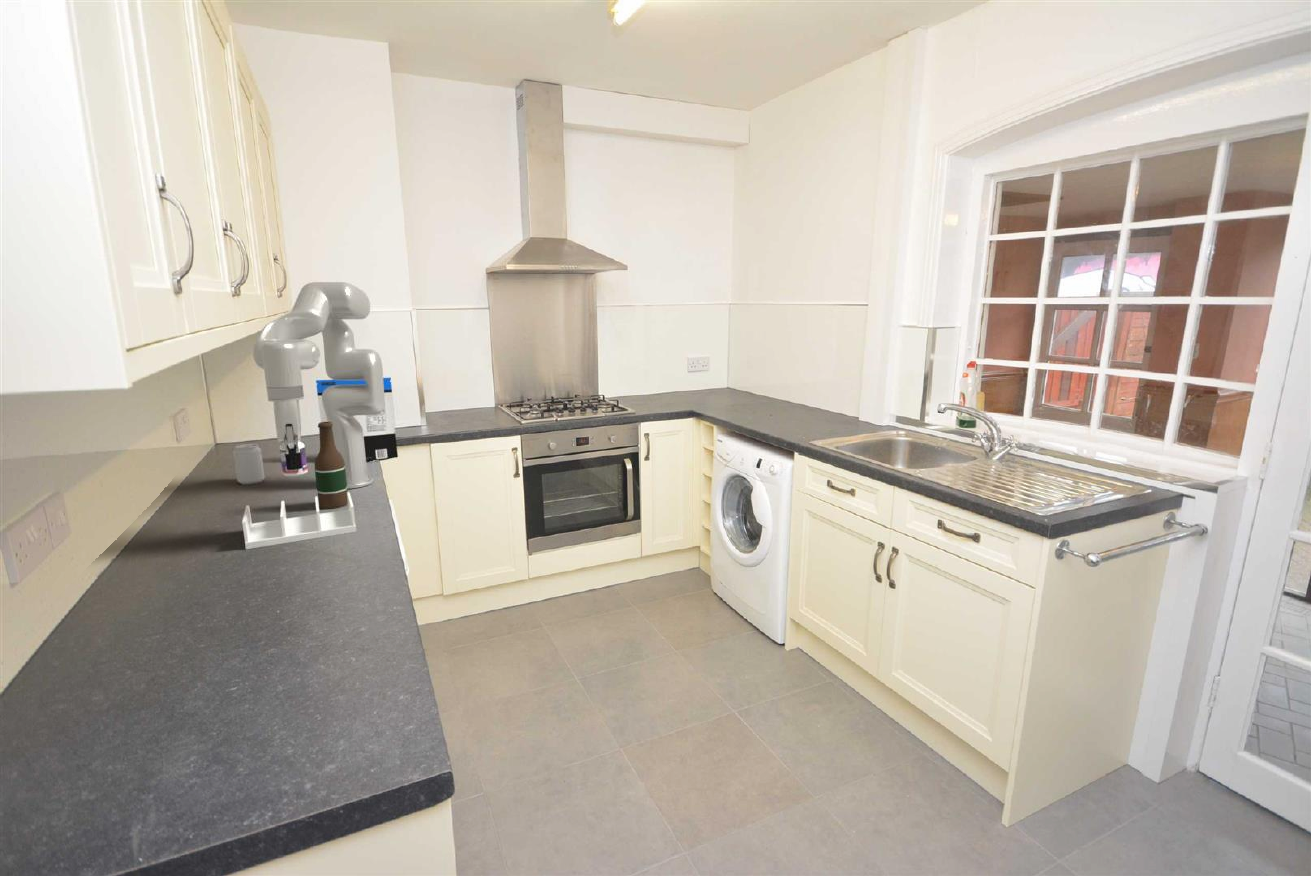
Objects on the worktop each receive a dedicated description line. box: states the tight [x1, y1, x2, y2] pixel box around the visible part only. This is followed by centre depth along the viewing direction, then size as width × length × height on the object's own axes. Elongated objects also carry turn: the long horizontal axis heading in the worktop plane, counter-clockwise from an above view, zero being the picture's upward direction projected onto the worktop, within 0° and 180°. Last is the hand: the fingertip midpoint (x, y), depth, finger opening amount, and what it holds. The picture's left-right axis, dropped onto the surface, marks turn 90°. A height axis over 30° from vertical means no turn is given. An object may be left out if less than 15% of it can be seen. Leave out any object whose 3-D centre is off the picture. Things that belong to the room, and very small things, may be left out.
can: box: [232, 443, 265, 485], centre depth 199 cm, size 8×8×12 cm
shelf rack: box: [241, 491, 357, 550], centre depth 156 cm, size 15×23×6 cm, turn 120°
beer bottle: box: [314, 421, 349, 510], centre depth 174 cm, size 8×8×24 cm
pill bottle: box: [279, 437, 308, 477], centre depth 152 cm, size 5×5×10 cm
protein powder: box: [315, 377, 399, 463], centre depth 225 cm, size 10×24×30 cm, turn 111°
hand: (294, 465), depth 153 cm, fingers closed on pill bottle, 5 cm apart
